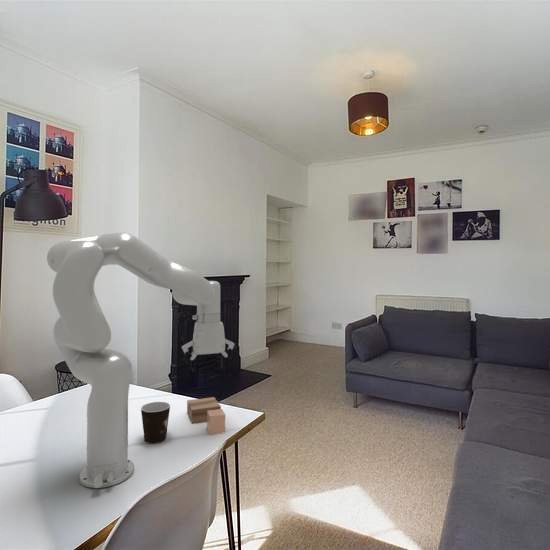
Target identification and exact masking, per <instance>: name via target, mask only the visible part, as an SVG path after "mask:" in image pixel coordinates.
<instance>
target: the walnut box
mask: <svg viewBox="0 0 550 550" xmlns="http://www.w3.org/2000/svg"><path fill="white" fill-rule="evenodd" d="M186 402H187V403H186V405H187V406H186V414H187V416H188V418H189V421H190V423H191V425H193V424H194V423H195V424H201V423H207V411H209V410H217V409H222V407H221V404H220V403H219V401H218V400H217V399H216V397H214V396H213V397H211V396H210V397H204V398H198V399H197V398H196V399H188V400H187V401H186ZM195 424H194V425H195Z"/></svg>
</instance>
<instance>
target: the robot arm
mask: <svg viewBox="0 0 550 550" xmlns="http://www.w3.org/2000/svg"><path fill="white" fill-rule="evenodd" d="M47 251H48V252H47V254H46V262H47V265H48V267H49V268H50V269H51V270H52V271H53V272H54V273H56V275H55V278H54V280H53V284H52V298H53V302H54V304H55V308H56V309H57V311H58V315H59V317H58V318H57V320H56V321H55V323H54V326H53V338H54V342H55V344H56V347H57V349H58V350H59V352H60V353H61V356H62V358H63V360H64V361H65V363H66V365H67V367H68V369H69V370H70V372H71V373H72V375H73V376H74V377H75V378H76V379H77V380H79V381H80V382H83V383H85V384H87V385H90V386H91V391H90V392H89V393H90V394H89V396H88V400H87V404H86V406H87V408H86V466H85V467H84V468H83V469H82V470H81V472H80V473H79V483H80V484H81V485H82V486H84V487H86V488H90V489H103V488H108V487H112V486H115V485H118V484H121V483H122V482H124V481H126V480H127V479H128V478H130V477H131V476H132V475H133V472H134V470H135V465H134V462H133V461H132V460H131V459H129V457H128V456H129V455H128V454H129V453H128V452H129V451H128V448H129V447H128V446H129V445H128V444H129V439H128V438H129V393H130V392H129V391H130V386H131V382H132V381H131V380H132V375H133V367H132V363H131V360H130V359H129V358H128V356H127V355H125V354H124V353H121V351H117V350H113V349H109V348H107V347H108V346H109V344H110V342H111V340H112V331H111V328H110V325H109V323H108V321H107V318H106V317H105V314H104V311H103V309H102V308H101V305H100V303H99V300H98V298H97V295H96V293H95V283H96V278H97V276H98V274H99V272H100V270H101V269H102V267H105V266H108V265H110V266H111V265H112V266H113V265H115V266H116V265H118V266H120V267H122V268H124V269H125V270H127V271H128V272H130V273H131V274H133V275H135V276H136V277H138V278H140V279H141V280H143V281H144V282H146V283H148V284H149V285H153V286H156V287H158V288H165V289H168V290H172V291H171V295H172V297H173V299H174V301H175V302H177V303H178V304H181V305H184V306H185V305H186V306H196V314H194V315H192V320H195V322H194V327H193V335H192V336H193V337H192V340H191V341H189V342H186V343H185V344H184V345H182V346H181V349H182V351H183V353H184V355H185V356H186V357H187V358H188V359H189V360H190V361H189V363H190V365H189V368H190V370H192V373H196V372H197V368H196V367H197V363H196V362H197V360H196V357H197V356H198V355H199V356H200V355H211V354H221V356H220V369H222V370H226V367H227V363H228V361H227V360H228V359H227V358H228V357H229V355H230V354H231V353H232V350H233V349H234V346H235V343H234V342H233V341H231V340H228V339H227V338H226V337H225V336H226V335H225V328H224V323H223V322H222V321H221V284H220V282H218V281H216V280H208V279H206V278H205V277H204V276H202V275H200V274H199V273H197V272H196V271H194V270H192V269H191V268H188V267H185V266H184V265H182V264H179V263H178V262H175V261H173V260H170V259H168V258H166V257H164V256H163V255H162V254H160V253H159V252H157V251H156V250H155V249H153V248H152V247H150V246H149V245H148V244H146V243H145V242H143V241H142V240H140V239H139V238H137V237H136V236H134V235H132V234H130V233H127V232H115V233H105V234H100V235H94V236H90V237H83V238H77V239H71V240H70V239H68V240H63V241H59V242H57V243H55V244H54V245H52V246H51V247H50V248H49V250H47ZM226 344H227V345H228V347H227V349H226ZM190 347H192V352H189V350H188V349H189V348H190Z"/></svg>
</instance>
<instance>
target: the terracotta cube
mask: <svg viewBox="0 0 550 550" xmlns="http://www.w3.org/2000/svg"><path fill="white" fill-rule="evenodd" d="M206 429H207V433H208V434H209V436H211V435H219V434H218V433H220V434H223V433H222V432H225V433H226V412H225V411H224V409H222V408H221V409H217V410H209V411H207V422H206Z"/></svg>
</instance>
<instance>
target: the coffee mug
mask: <svg viewBox="0 0 550 550" xmlns="http://www.w3.org/2000/svg"><path fill="white" fill-rule="evenodd" d="M170 410H171V404H170V403H169V402H165V401H153V402H152V401H151V402H149V403H145V404H143V405H142V406H141V407H140V412H141V413H140V414H141V419H142V420H141V421H142V428H143V429H142V430H143V439H144V442H145V443H147V444H152V445H153V444H154V445H155V444H160V443H162V442H164V441H166V439H167V436H168V435H167V434H168V426H169V417H170Z"/></svg>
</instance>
